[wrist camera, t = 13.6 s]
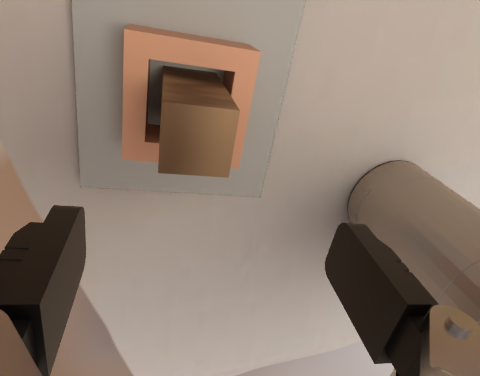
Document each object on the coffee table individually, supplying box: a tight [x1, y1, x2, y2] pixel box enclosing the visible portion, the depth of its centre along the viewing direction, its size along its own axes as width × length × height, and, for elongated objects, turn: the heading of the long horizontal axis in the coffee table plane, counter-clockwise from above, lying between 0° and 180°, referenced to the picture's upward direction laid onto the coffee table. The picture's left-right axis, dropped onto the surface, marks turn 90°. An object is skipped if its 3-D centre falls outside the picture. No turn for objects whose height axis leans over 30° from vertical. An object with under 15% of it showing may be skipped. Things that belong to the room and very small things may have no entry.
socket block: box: [72, 0, 306, 197], centre depth 26 cm, size 16×18×6 cm
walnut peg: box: [158, 65, 240, 178], centre depth 23 cm, size 4×4×10 cm
